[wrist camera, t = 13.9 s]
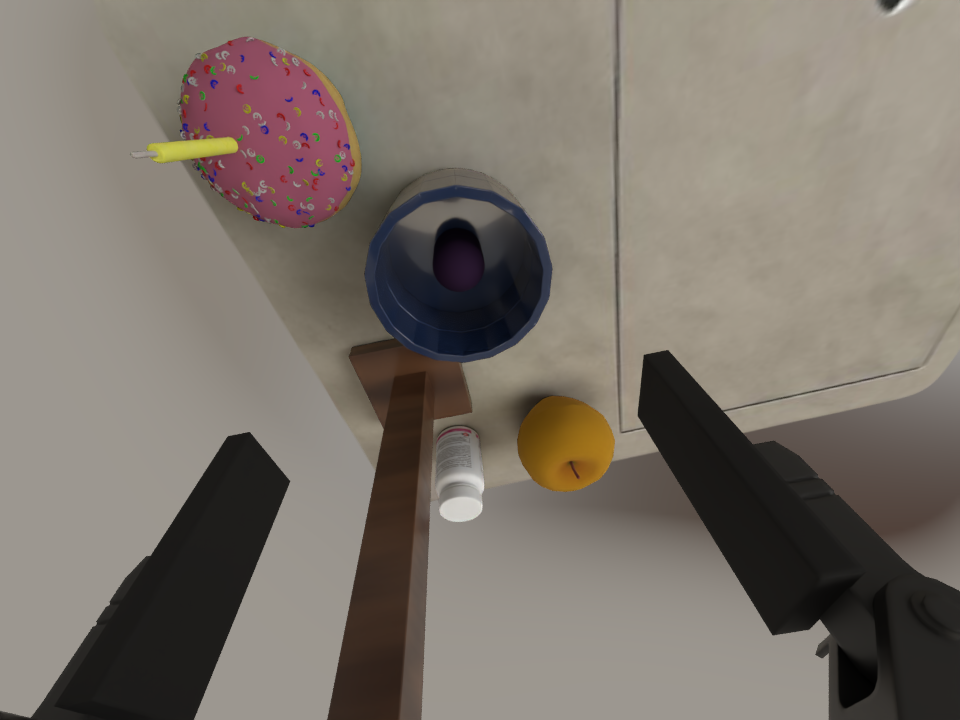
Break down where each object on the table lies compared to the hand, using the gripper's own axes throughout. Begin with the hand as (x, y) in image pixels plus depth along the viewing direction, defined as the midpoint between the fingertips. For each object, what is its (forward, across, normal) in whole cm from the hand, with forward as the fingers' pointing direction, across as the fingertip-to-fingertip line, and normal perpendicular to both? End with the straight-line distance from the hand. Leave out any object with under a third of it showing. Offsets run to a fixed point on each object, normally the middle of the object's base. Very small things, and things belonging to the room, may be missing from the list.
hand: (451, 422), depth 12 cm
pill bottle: (+19, -4, -21) cm, 28 cm away
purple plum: (+18, +1, 0) cm, 18 cm away
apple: (+19, +7, -19) cm, 27 cm away
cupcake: (+19, -7, +8) cm, 22 cm away
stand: (+18, -6, -12) cm, 23 cm away
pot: (+19, +1, 0) cm, 19 cm away
